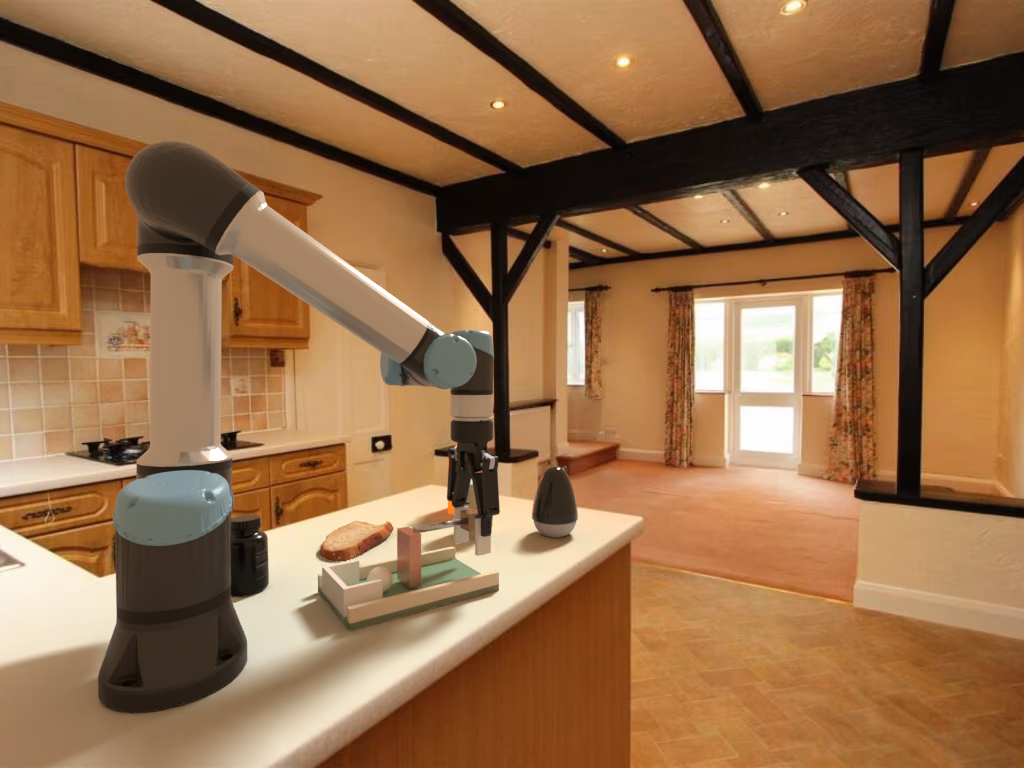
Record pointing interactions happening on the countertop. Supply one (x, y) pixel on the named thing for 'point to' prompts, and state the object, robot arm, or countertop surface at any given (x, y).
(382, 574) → the ball
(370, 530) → the slice of bread
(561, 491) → the dark grey egg shape
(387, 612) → the pitch
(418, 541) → the rod
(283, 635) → the countertop surface
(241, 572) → the supplement bottle
